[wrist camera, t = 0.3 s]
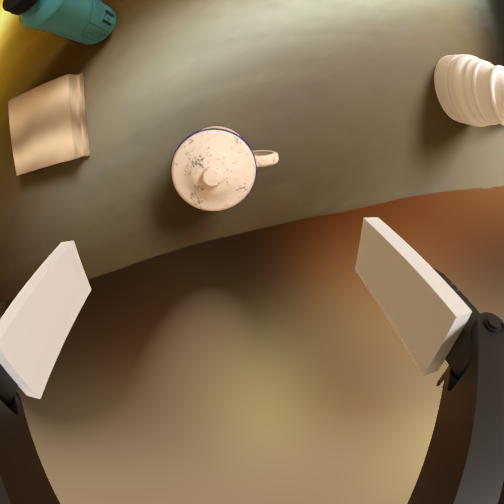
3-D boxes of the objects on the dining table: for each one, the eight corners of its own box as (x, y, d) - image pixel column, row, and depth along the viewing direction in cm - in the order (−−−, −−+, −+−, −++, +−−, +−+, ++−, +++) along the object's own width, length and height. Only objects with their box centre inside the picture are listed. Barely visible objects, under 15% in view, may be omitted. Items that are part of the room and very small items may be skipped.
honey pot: (477, 126, 34) (549, 151, 19) (434, 117, 34) (518, 139, 18) (475, 65, 28) (548, 74, 12) (430, 47, 27) (512, 43, 12)
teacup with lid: (188, 194, 38) (175, 228, 27) (177, 130, 33) (156, 140, 23) (273, 181, 38) (293, 211, 28) (267, 117, 33) (286, 121, 23)
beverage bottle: (125, 35, 25) (47, -9, 8) (83, 55, 25) (-10, 38, 8) (118, 2, 22) (49, -52, 4) (78, 22, 22) (-7, -9, 5)
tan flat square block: (21, 98, 26) (6, 100, 22) (83, 73, 26) (70, 71, 23) (29, 171, 32) (16, 178, 28) (90, 154, 33) (77, 160, 29)
